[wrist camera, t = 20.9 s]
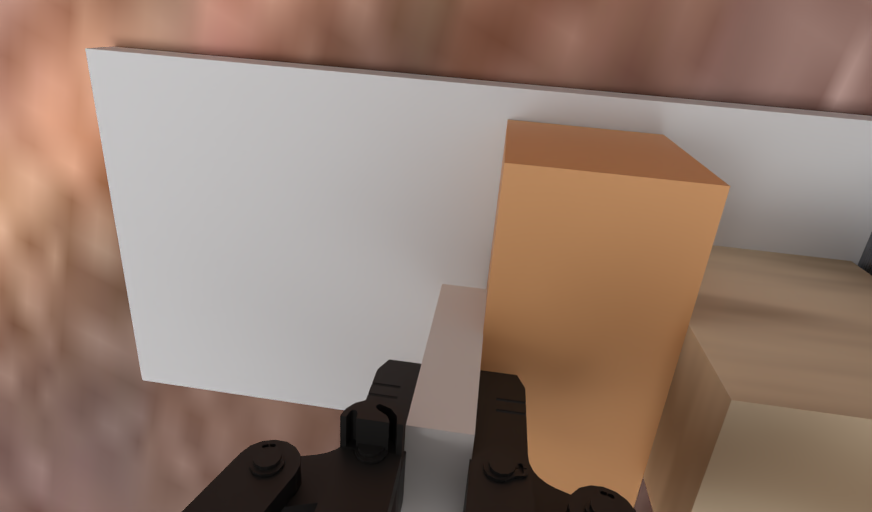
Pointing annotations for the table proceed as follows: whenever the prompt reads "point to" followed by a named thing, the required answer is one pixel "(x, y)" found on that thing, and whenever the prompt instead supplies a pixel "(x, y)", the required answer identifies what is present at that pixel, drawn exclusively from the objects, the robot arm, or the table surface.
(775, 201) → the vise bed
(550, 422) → the block
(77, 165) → the table surface
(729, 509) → the maple block
